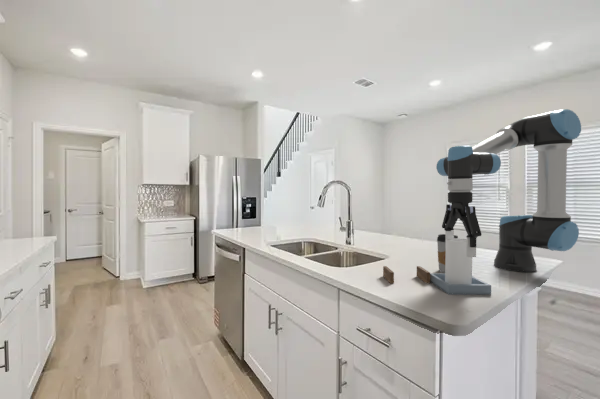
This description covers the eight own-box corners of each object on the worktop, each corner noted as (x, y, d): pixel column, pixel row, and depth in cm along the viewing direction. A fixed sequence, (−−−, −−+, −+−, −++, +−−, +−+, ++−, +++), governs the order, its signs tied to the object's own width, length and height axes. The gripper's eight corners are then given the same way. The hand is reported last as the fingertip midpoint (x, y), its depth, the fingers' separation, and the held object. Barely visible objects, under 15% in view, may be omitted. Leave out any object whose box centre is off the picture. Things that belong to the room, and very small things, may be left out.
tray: (466, 281, 111) (466, 273, 111) (491, 294, 97) (491, 285, 97) (429, 281, 110) (429, 273, 110) (448, 294, 96) (448, 285, 96)
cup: (471, 291, 98) (472, 242, 97) (443, 286, 102) (444, 240, 102) (472, 284, 105) (473, 239, 104) (446, 280, 109) (447, 237, 109)
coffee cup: (436, 272, 122) (437, 236, 122) (435, 267, 130) (436, 233, 130) (459, 274, 119) (460, 237, 119) (457, 269, 127) (457, 234, 126)
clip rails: (419, 276, 117) (419, 266, 117) (429, 283, 108) (430, 272, 108) (383, 276, 117) (383, 266, 117) (390, 283, 108) (390, 272, 108)
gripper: (432, 191, 115) (432, 245, 116) (470, 192, 90) (470, 261, 91) (451, 190, 115) (451, 245, 116) (494, 191, 90) (494, 260, 91)
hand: (459, 252), depth 103 cm, fingers open, 13 cm apart
